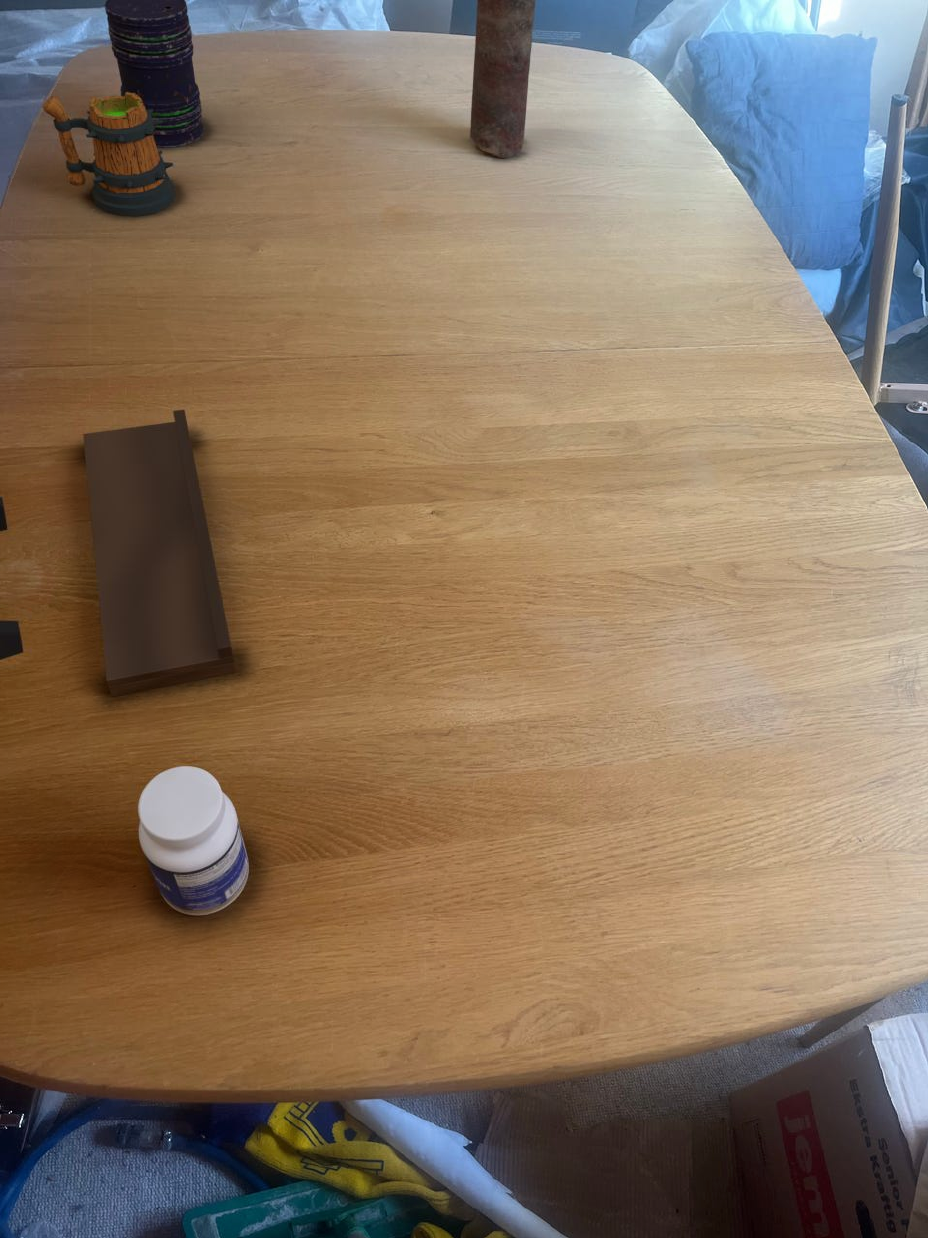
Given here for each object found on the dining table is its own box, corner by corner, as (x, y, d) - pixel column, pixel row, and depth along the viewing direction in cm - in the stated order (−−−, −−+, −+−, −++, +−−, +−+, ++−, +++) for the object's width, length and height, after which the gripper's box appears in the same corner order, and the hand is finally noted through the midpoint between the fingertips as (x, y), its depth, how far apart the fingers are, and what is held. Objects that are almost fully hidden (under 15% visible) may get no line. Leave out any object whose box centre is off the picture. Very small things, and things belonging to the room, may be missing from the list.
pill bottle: (150, 852, 63) (119, 774, 55) (237, 824, 64) (218, 744, 57) (170, 932, 59) (139, 861, 52) (260, 900, 61) (243, 826, 54)
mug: (176, 174, 120) (160, 75, 112) (180, 215, 114) (163, 114, 105) (67, 178, 118) (41, 78, 109) (64, 220, 112) (37, 117, 103)
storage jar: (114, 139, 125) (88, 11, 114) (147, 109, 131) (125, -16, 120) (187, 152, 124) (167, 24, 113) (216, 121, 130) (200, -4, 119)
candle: (459, 150, 130) (469, -20, 115) (479, 129, 134) (492, -37, 119) (511, 163, 128) (529, -7, 113) (530, 142, 133) (550, -24, 118)
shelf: (112, 697, 70) (102, 671, 68) (88, 450, 87) (79, 422, 84) (236, 672, 72) (231, 646, 70) (189, 436, 89) (184, 409, 87)
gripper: (-363, 708, 37) (20, 657, 42) (-342, 425, 43) (-11, 411, 49) (-297, 779, 43) (34, 725, 48) (-287, 519, 49) (4, 498, 55)
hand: (13, 572), depth 49 cm, fingers open, 7 cm apart
